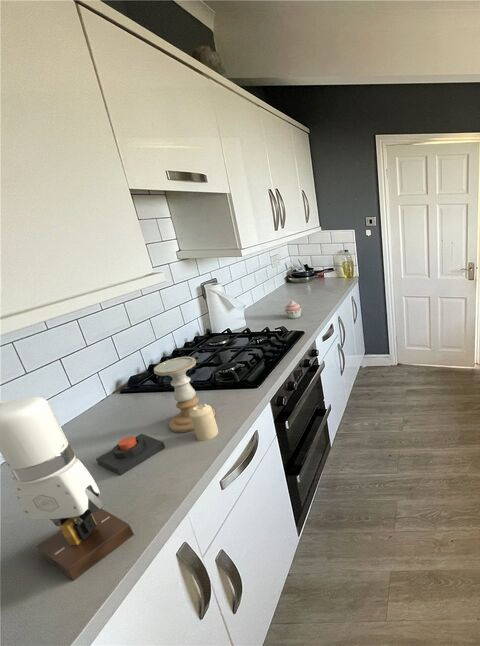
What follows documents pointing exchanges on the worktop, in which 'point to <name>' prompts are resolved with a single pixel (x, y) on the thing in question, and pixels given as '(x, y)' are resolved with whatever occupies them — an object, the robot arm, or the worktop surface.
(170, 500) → the worktop surface
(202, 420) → the candle
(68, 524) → the lock knob
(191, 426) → the candle holder
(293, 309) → the cupcake
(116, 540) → the brown wooden base
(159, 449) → the block
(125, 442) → the release button
